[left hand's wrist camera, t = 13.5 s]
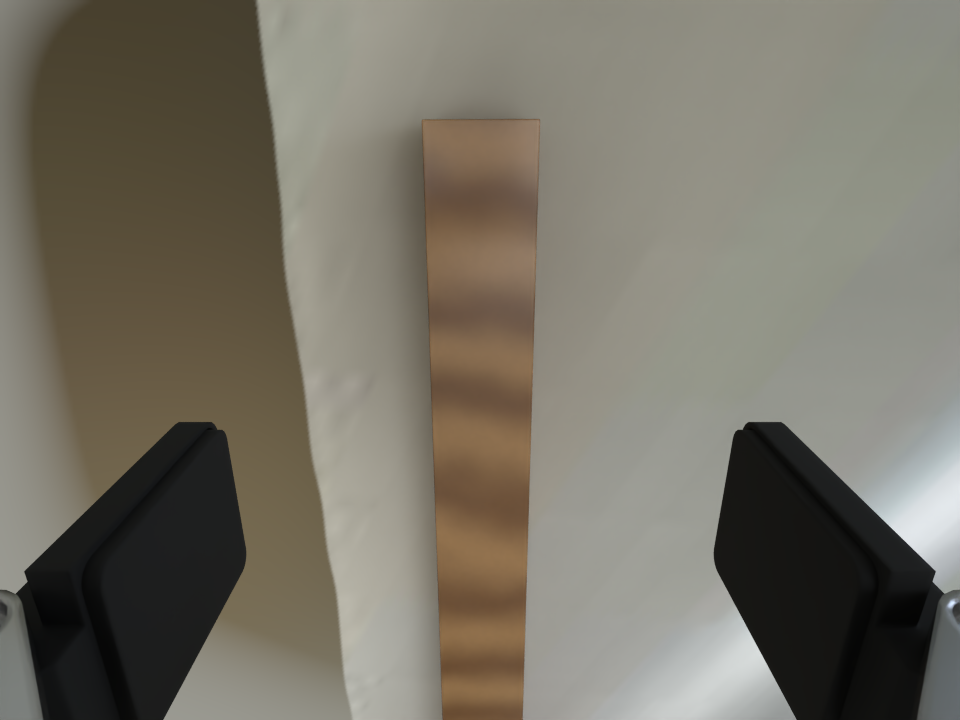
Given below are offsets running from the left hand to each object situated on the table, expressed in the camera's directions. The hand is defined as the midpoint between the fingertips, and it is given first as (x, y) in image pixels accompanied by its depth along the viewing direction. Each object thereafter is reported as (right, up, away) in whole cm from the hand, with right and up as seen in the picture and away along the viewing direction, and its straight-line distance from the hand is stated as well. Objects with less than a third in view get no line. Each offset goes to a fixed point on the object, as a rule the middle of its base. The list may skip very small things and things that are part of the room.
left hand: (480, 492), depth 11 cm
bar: (0, -13, +34) cm, 36 cm away
